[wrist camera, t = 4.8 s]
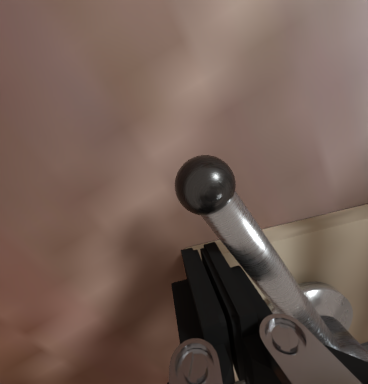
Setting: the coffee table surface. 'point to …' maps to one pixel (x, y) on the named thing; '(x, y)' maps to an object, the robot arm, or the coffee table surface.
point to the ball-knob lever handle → (264, 255)
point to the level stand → (324, 258)
